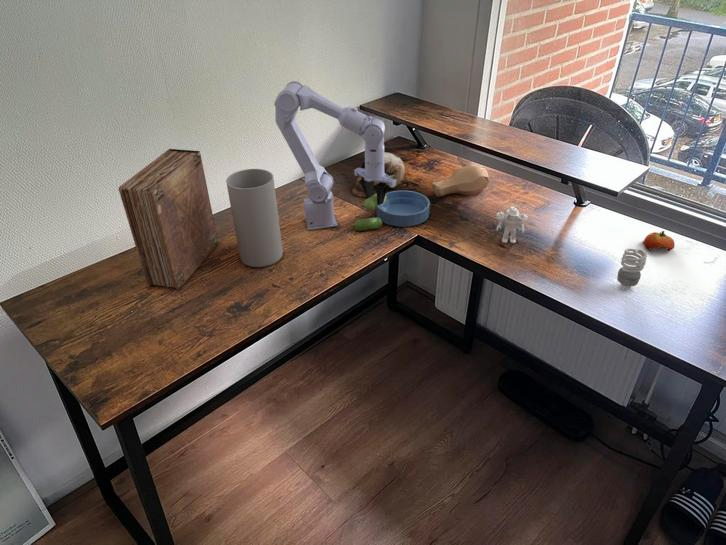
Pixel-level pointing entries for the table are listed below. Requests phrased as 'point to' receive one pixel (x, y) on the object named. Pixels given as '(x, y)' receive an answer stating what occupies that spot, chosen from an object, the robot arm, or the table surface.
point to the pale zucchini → (372, 202)
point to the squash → (463, 181)
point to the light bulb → (631, 268)
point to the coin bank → (391, 168)
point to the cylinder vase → (255, 216)
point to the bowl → (404, 208)
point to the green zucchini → (367, 224)
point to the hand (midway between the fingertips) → (375, 201)
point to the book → (170, 217)
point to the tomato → (658, 241)
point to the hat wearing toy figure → (511, 222)
